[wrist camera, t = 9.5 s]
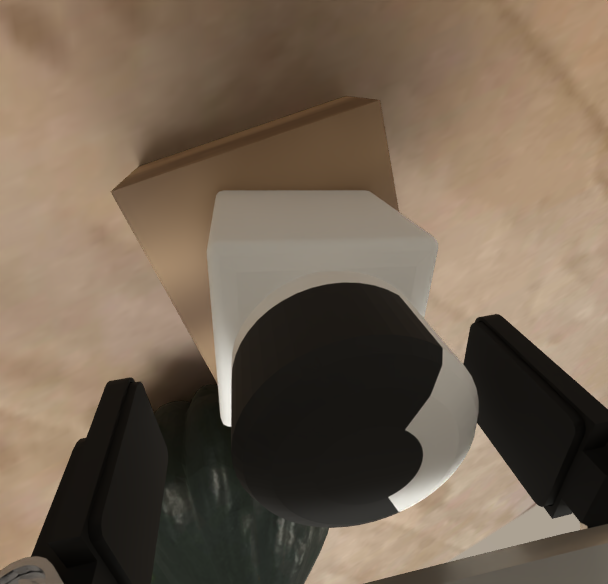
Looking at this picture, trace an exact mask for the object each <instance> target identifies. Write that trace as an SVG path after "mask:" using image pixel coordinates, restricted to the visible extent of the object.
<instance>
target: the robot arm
mask: <svg viewBox="0 0 608 584" xmlns="http://www.w3.org/2000/svg"><path fill="white" fill-rule="evenodd" d="M464 366H465V367H466V369H467V370H468V372H469V373H470V375H471V376H472V378H473V381H474V383H475V386H476V388H477V394H478V400H479V413H478V418H477V423H478V425H479V426H480V427H481V429H482V430H483V431H484V433H485V434H486V436H487V437H488V438H489V440H490V441H491V443H492V444H493V445H494V447H495V448H496V449H497V451H498V452H499V454H500V455H501V456H502V458H503V459H504V460H505V462H506V463H507V465H508V466H509V467H510V469H511V470H512V472H513V473H514V474H515V476H516V477H517V478H518V480H519V481H520V483H521V484H522V485H523V487H524V488H525V490H526V491H527V492H528V494H529V495H530V496H531V498H532V499H533V500H534V502H535V503H536V504H537V505H539V506H541V507H544V508H545V509H546V511H547V512H548V514H549V515H550V516H551V517H552V519H553V518H557V517H561V516H564V515H569V514H572V512H573V513H574V515H575V516H576V517H577V519H578V520H579V521H580V530H579V531H574V532H570V533H565V534H561V535H557V536H553V537H549V538H545V539H541V540H537V541H533V542H529V543H525V544H520V545H517V546H512V547H508V548H504V549H500V550H496V551H492V552H488V553H484V554H480V555H476V556H472V557H468V558H464V559H460V560H456V561H452V562H448V563H444V564H440V565H436V566H432V567H428V568H424V569H420V570H416V571H412V572H408V573H404V574H400V575H396V576H392V577H388V578H384V579H381V580H377V581H373V582H369V583H365V584H608V409H607V408H606V407H604V406H603V405H602V404H601V403H600V402H599V401H598V400H596V399H595V398H594V397H593V396H592V395H591V394H590V393H589V392H587V391H586V390H585V389H584V388H583V387H582V386H581V385H579V384H578V383H577V382H576V381H575V380H574V379H573V378H571V377H570V376H569V375H568V374H567V373H566V372H565V371H563V370H562V369H561V368H560V367H559V366H558V365H557V364H556V363H554V362H553V361H552V360H551V359H550V358H549V357H548V356H546V355H545V354H544V353H543V352H542V351H541V350H540V349H538V348H537V347H536V346H535V345H534V344H533V343H532V342H531V341H529V340H528V339H527V338H526V337H525V336H524V335H523V334H521V333H520V332H519V331H518V330H517V329H516V328H515V327H513V326H512V325H511V324H510V323H509V322H508V321H507V320H505V319H504V318H503V317H502V316H500V315H498V314H495V315H489V316H483V317H479V318H477V319H476V320H475V323H473V324H472V325H471V327H470V332H469V337H468V343H467V348H466V354H465V359H464ZM167 465H168V450H167V446H166V444H165V441H164V439H163V436H162V433H161V431H160V428H159V426H158V423H157V420H156V418H155V415H154V413H153V410H152V407H151V405H150V402H149V400H148V397H147V394H146V392H145V389H144V387H143V384H142V383H141V382H135V381H134V379H133V378H125V379H119V380H114V381H109V382H108V383H107V384H106V386H105V389H104V392H103V394H102V397H101V400H100V402H99V405H98V408H97V411H96V413H95V416H94V419H93V421H92V424H91V427H90V430H89V432H88V435H87V438H83V439H80V440H79V441H78V442H77V443H76V445H75V447H74V449H73V451H72V454H71V456H70V459H69V461H68V464H67V467H66V469H65V472H64V474H63V477H62V479H61V482H60V484H59V487H58V489H57V492H56V495H55V497H54V500H53V502H52V505H51V507H50V510H49V512H48V515H47V517H46V520H45V522H44V525H43V528H42V530H41V533H40V535H39V538H38V540H37V543H36V545H35V548H34V550H33V553H32V556H31V557H27V558H23V559H21V560H18V561H16V562H13V563H11V564H9V565H8V566H6V567H5V568H3V569H2V570H0V584H151V580H152V573H153V566H154V559H155V551H156V544H157V537H158V530H159V522H160V515H161V508H162V501H163V494H164V486H165V479H166V472H167Z"/></svg>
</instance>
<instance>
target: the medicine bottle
mask: <svg viewBox="0 0 608 584" xmlns="http://www.w3.org/2000/svg"><path fill="white" fill-rule="evenodd" d="M437 252H438V242H437V240H436V239H435V238H434V237H433V236H432V235H431V234H429V233H428V232H426V231H425V230H424V229H422V228H421V227H419V226H418V225H417V224H415V223H414V222H412V221H411V220H409V219H408V218H407V217H405V216H404V215H402V214H401V213H400V212H398V211H397V210H395V209H394V208H392V207H391V206H390V205H388V204H387V203H385V202H384V201H383V200H381V199H380V198H378V197H377V196H375V195H374V194H373V193H371V192H370V191H366V190H223V191H220V192H218V193H217V195H216V198H215V204H214V210H213V216H212V222H211V228H210V234H209V241H208V247H207V262H208V274H209V286H210V298H211V310H212V322H213V334H214V345H215V357H216V369H217V381H218V393H219V405H220V417H221V420H222V422H223V424H224V425H226V426H229V427H231V455H232V463H233V467H234V470H235V473H236V476H237V478H238V479H239V481H240V483H241V485H242V486H243V488H244V489H245V490H246V491H247V492H248V493H249V495H250V496H251V497H253V498H254V499H255V500H256V501H257V502H259V503H260V504H261V505H262V506H264V507H265V508H266V509H267V510H268V511H270V512H272V513H273V514H275V515H277V516H279V517H280V518H283V519H286V520H288V521H291V522H294V523H298V524H302V525H306V526H313V527H328V528H334V527H348V526H355V525H361V524H365V523H370V522H374V521H377V520H380V519H383V518H386V517H389V516H392V515H394V514H396V513H399V512H401V511H403V510H405V509H407V508H409V507H411V506H413V505H415V504H416V503H418V502H420V501H421V500H423V499H424V498H426V497H427V496H429V495H430V494H431V493H433V492H434V491H435V490H437V489H438V488H439V487H440V486H441V485H442V484H443V483H444V482H445V481H447V480H448V479H449V477H450V476H451V475H452V474H453V473H454V472H455V471H456V470H457V468H458V467H459V465H460V464H461V463H462V461H463V460H464V458H465V456H466V454H467V452H468V451H469V449H470V446H471V444H472V441H473V438H474V434H475V429H476V424H477V418H478V413H479V400H478V394H477V388H476V386H475V383H474V381H473V378H472V376H471V375H470V373H469V372H468V370H467V369H466V367H465V366H464V365H463V363H462V362H461V361H460V360H459V359H458V358H457V356H456V355H455V354H454V353H453V352H452V351H451V349H450V348H449V347H448V346H447V345H446V344H445V342H444V341H443V340H442V339H441V338H440V337H439V335H438V334H437V333H436V332H435V331H434V330H433V328H432V327H431V326H430V325H429V324H428V323H427V321H426V320H425V319H424V316H425V311H426V306H427V301H428V296H429V291H430V286H431V281H432V276H433V271H434V267H435V262H436V257H437Z"/></svg>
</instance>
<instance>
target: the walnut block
mask: <svg viewBox="0 0 608 584" xmlns="http://www.w3.org/2000/svg"><path fill="white" fill-rule="evenodd" d="M223 190H366V191H370V192H371V193H373V194H374V195H375V196H377V197H378V198H380V199H381V200H383V201H384V202H385V203H387V204H388V205H390V206H391V207H392V208H394V209H395V210H397V211H398V212H399V209H398V203H397V197H396V191H395V186H394V180H393V174H392V168H391V162H390V156H389V150H388V144H387V138H386V133H385V127H384V121H383V115H382V109H381V103H380V100H375V99H367V98H358V97H349V96H344V97H341V98H338V99H335V100H333V101H330V102H327V103H324V104H321V105H318V106H315V107H312V108H309V109H306V110H303V111H300V112H297V113H294V114H291V115H288V116H286V117H283V118H280V119H277V120H274V121H271V122H268V123H265V124H262V125H259V126H256V127H253V128H250V129H247V130H244V131H241V132H239V133H236V134H233V135H230V136H227V137H224V138H221V139H218V140H215V141H212V142H209V143H206V144H203V145H200V146H197V147H194V148H191V149H189V150H186V151H183V152H180V153H177V154H174V155H171V156H168V157H165V158H162V159H159V160H156V161H153V162H150V163H147V164H144V165H142V166H139V167H138V168H136V169H135V170H134V171H133V172H132V173H131V174H130V175H129V176H128V177H126V178H125V179H124V180H123V181H122V182H121V183H120V184H119V185H118V186H116V187H115V188H114V189H113V190H112V191H111V193H112V195H113V197H114V198H115V200H116V202H117V204H118V206H119V207H120V209H121V211H122V213H123V215H124V216H125V218H126V220H127V222H128V224H129V225H130V227H131V229H132V231H133V233H134V234H135V236H136V238H137V240H138V242H139V243H140V245H141V247H142V249H143V251H144V252H145V254H146V256H147V258H148V260H149V261H150V263H151V265H152V267H153V269H154V270H155V272H156V274H157V276H158V278H159V279H160V281H161V283H162V285H163V287H164V288H165V290H166V292H167V294H168V296H169V297H170V299H171V301H172V303H173V305H174V306H175V308H176V310H177V312H178V314H179V315H180V317H181V319H182V321H183V323H184V324H185V326H186V328H187V330H188V332H189V333H190V335H191V337H192V339H193V341H194V342H195V344H196V346H197V348H198V350H199V351H200V353H201V355H202V357H203V359H204V360H205V362H206V364H207V366H208V368H209V369H210V371H211V373H212V375H213V377H214V378H215V380H216V382H217V384H218V381H217V369H216V357H215V345H214V334H213V322H212V310H211V298H210V286H209V274H208V262H207V247H208V241H209V234H210V228H211V222H212V216H213V210H214V204H215V198H216V195H217V193H218V192H220V191H223Z"/></svg>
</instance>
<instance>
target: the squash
mask: <svg viewBox="0 0 608 584" xmlns="http://www.w3.org/2000/svg"><path fill="white" fill-rule="evenodd" d="M154 415H155V418H156V420H157V423H158V426H159V428H160V431H161V433H162V436H163V439H164V441H165V444H166V446H167V450H168V465H167V472H166V479H165V486H164V494H163V501H162V508H161V515H160V522H159V530H158V537H157V544H156V551H155V559H154V566H153V573H152V580H151V584H304V583H305V581H306V579H307V577H308V575H309V573H310V571H311V570H312V567H313V565H314V563H315V561H316V559H317V557H318V555H319V553H320V551H321V549H322V546H323V544H324V541H325V539H326V536H327V534H328V530H329V528H328V527H313V526H306V525H302V524H298V523H294V522H291V521H288V520H286V519H283V518H280V517H279V516H277V515H275V514H273V513H272V512H270V511H268V510H267V509H266V508H265V507H264V506H262V505H261V504H260V503H259V502H257V501H256V500H255V499H254V498H253V497H251V496H250V495H249V493H248V492H247V491H246V490H245V489H244V488H243V486H242V485H241V483H240V481H239V479H238V478H237V476H236V473H235V470H234V467H233V463H232V455H231V427H229V426H226V425H224V424H223V422H222V420H221V417H220V405H219V393H218V386H217V385H206V386H203V387H202V388H200V389H199V390H198V391H197V392H196V393H195V395H194V397H193V399H192V401H191V403H189V402H185V401H177V402H171V403H168V404H166V405H164V406H162V407H160V408H159V409H158V410H157V411H156V412H155V413H154Z"/></svg>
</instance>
